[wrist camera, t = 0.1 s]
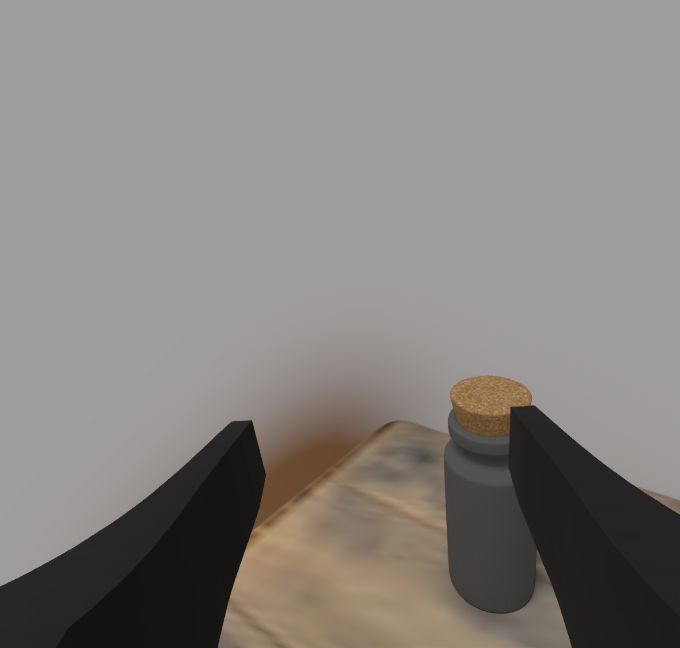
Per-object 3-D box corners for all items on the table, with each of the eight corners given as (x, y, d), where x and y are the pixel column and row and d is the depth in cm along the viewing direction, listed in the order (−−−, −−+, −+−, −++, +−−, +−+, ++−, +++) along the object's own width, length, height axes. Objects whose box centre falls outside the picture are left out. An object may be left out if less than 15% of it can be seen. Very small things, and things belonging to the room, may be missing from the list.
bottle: (499, 632, 28) (500, 432, 23) (432, 571, 33) (420, 393, 28) (552, 580, 31) (563, 391, 26) (483, 530, 36) (482, 362, 31)
